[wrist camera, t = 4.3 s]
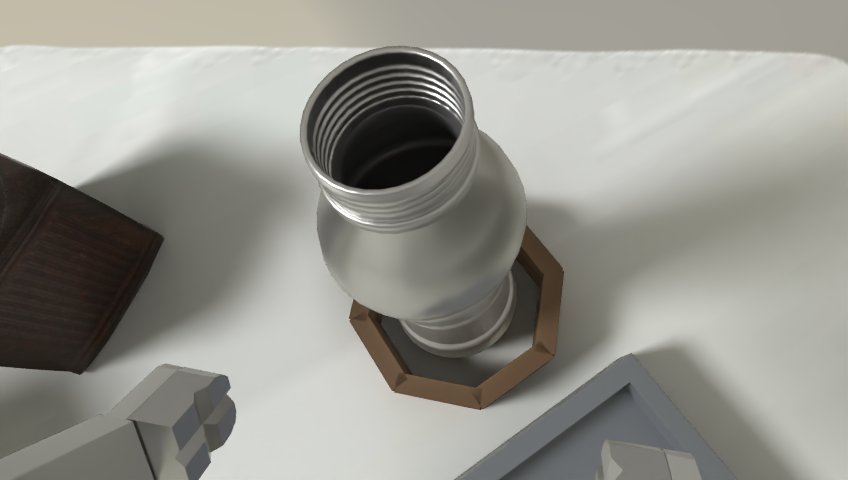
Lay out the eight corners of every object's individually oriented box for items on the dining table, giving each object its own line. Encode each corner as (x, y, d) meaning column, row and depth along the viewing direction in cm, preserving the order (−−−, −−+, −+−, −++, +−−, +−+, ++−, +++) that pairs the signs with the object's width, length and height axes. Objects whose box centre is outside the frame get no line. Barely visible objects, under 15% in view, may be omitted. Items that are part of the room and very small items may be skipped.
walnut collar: (594, 328, 27) (605, 319, 24) (435, 444, 26) (427, 449, 23) (479, 188, 31) (477, 166, 28) (337, 285, 30) (320, 273, 27)
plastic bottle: (539, 316, 28) (625, 130, 9) (443, 386, 27) (323, 342, 8) (472, 233, 30) (431, -56, 11) (383, 295, 29) (184, 103, 11)
